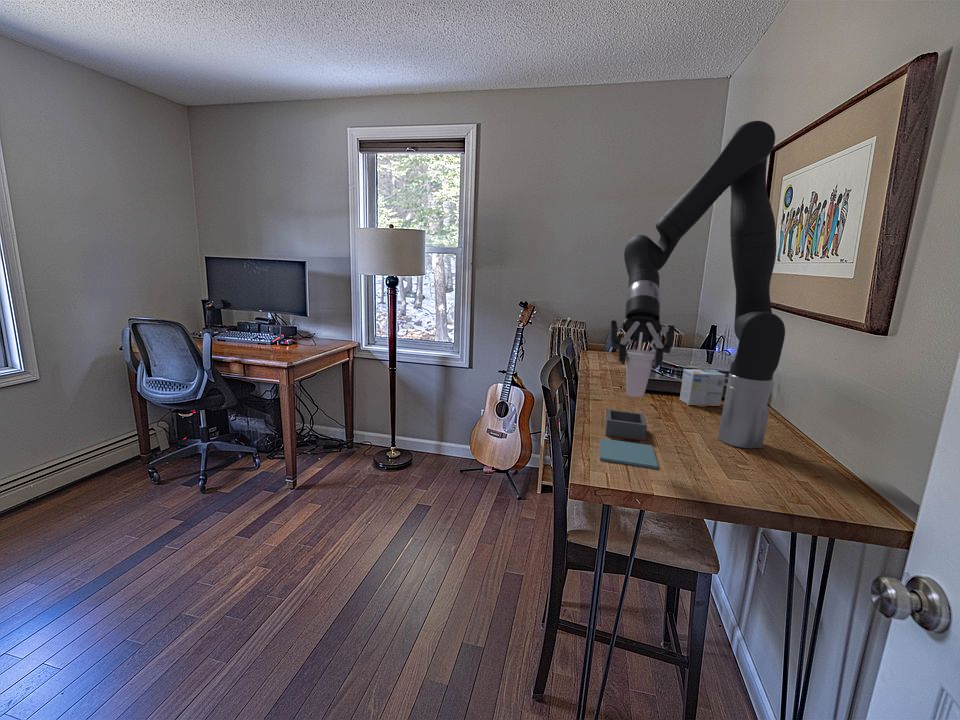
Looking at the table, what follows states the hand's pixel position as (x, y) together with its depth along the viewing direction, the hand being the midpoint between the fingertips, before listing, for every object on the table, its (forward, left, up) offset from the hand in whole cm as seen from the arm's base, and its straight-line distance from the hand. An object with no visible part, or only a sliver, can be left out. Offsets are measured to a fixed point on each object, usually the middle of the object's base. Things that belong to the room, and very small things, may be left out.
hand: (640, 364), depth 100 cm
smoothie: (0, -2, -8) cm, 8 cm away
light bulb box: (-25, -54, -22) cm, 63 cm away
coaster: (0, -2, -21) cm, 22 cm away
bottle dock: (0, -17, -21) cm, 27 cm away
